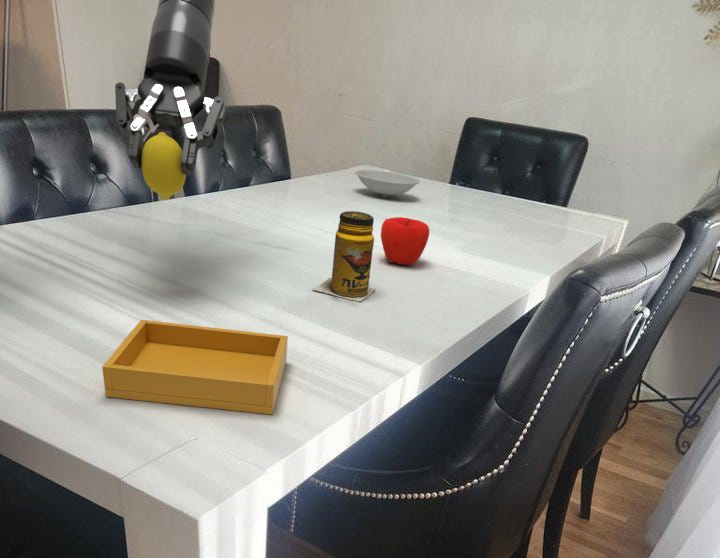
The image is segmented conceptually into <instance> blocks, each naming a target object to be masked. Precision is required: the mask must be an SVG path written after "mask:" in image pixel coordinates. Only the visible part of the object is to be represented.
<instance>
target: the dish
mask: <svg viewBox="0 0 720 558" xmlns="http://www.w3.org/2000/svg"><path fill="white" fill-rule="evenodd" d="M354 175H356V176H357V177H358V180H359V181H360V182H361V183H362V184H363V186H364V187H365V188H367V189H368V190H370V191H371V192H372V191H373V192H374V193H378V194H380V195H381V197H383V198H388V197H389V196H397V195H398V196H399V195H404V194H405V193H408V192H409V191H410V190H412V189H413V188H414V187H416V185H418V184H420V182H421V181H420V180H419V179H418V178H415V177H412V176H409V175H406V174H401V173H396V172H391V171H384V170H375V169H358V170H355V171H354Z"/></svg>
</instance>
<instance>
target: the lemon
mask: <svg viewBox="0 0 720 558" xmlns="http://www.w3.org/2000/svg"><path fill="white" fill-rule="evenodd" d="M144 144H145V145H144V148H143V151H142V158H141V172H142V177H143V180H144V181H145V184H146V185H147V186H148V188H149V189H150V190H152V191H153V193H156V194H158V195H159V196H160V198H161V199H162V200H164V201H167V200H169V199H170V198H171V197H172V196H173V195H176V194H177V193H179V192H180V191H181V190H182V188H183V187H184V185H185V183H186V178H187V175H183V172H182V169H181V158H182V152H183V148H182V147H181V146H180V144H179V143H178V142H177V141H176V140H175V139H173V138H172V137H171V136H169V135H167V133H166V132H164V131H159V132H158V134H156V135H154V136H152V137H150V138H149V139H147V141H146V142H144Z"/></svg>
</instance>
